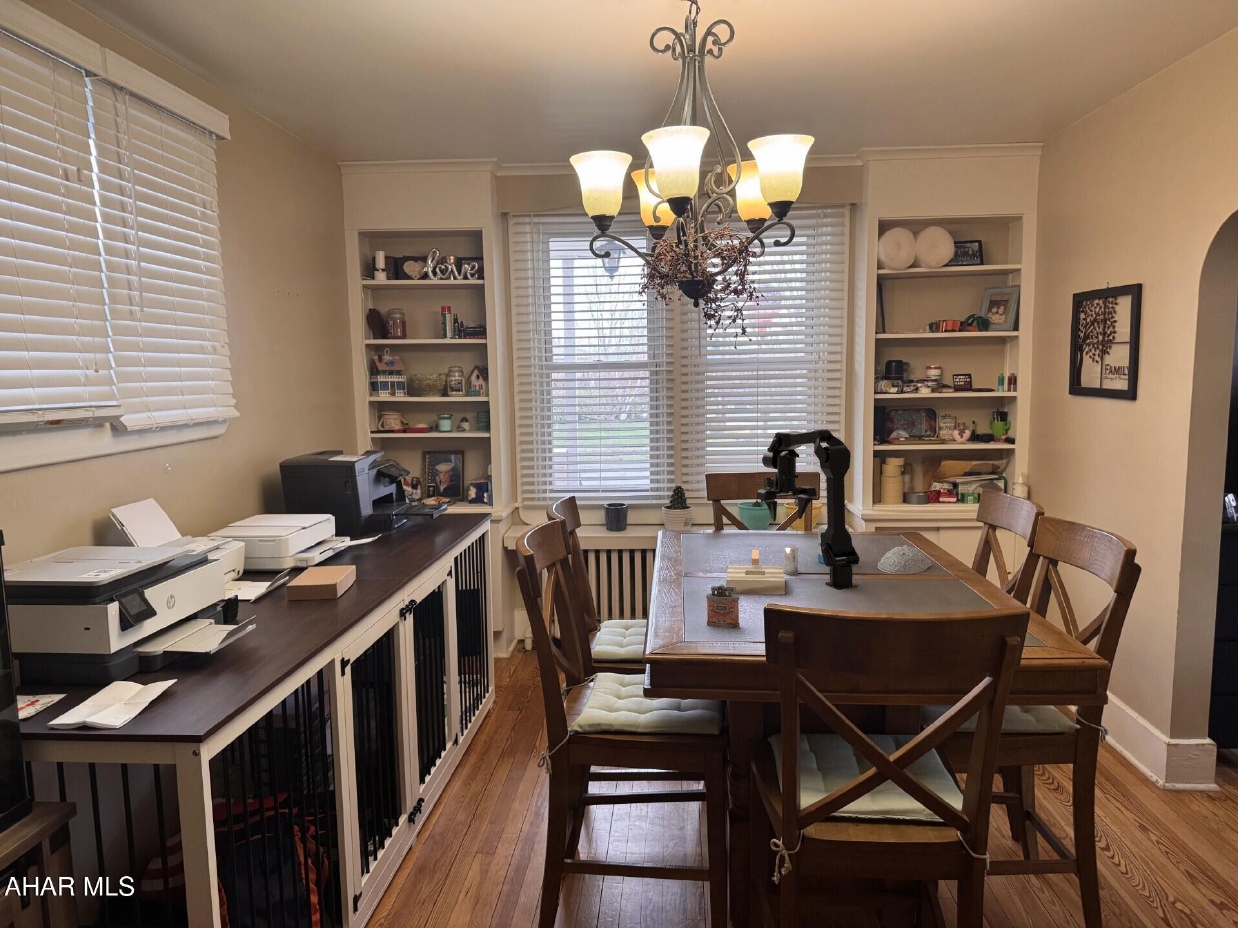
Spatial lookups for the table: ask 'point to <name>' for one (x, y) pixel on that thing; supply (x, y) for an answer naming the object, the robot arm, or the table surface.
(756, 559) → the pin
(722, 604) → the lighter
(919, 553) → the grey textured dome
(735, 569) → the dock
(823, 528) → the ink box
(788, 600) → the table surface
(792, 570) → the cylinder
